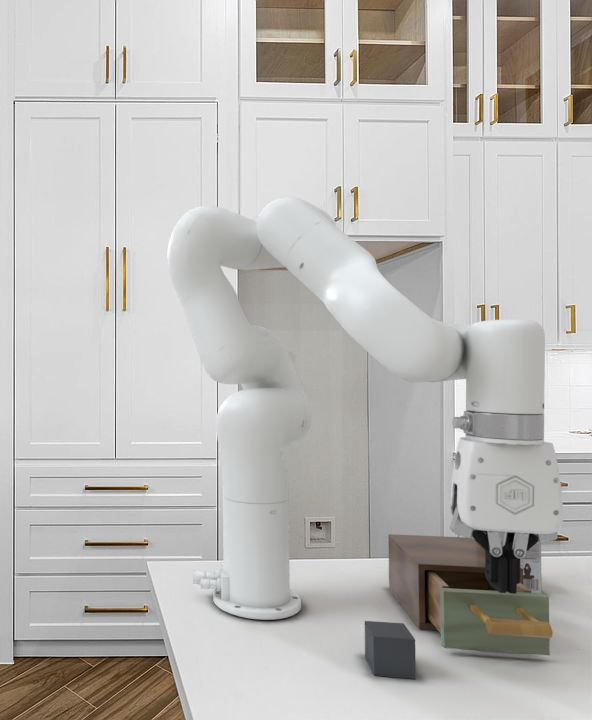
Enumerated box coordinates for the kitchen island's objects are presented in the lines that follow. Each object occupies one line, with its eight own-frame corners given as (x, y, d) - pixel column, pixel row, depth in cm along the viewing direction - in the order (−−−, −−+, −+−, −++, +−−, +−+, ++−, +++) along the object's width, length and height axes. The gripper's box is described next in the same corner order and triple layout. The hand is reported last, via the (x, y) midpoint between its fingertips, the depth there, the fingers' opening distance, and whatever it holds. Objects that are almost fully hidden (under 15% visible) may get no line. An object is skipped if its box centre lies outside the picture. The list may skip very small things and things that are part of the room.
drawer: (582, 683, 64) (580, 619, 64) (465, 674, 66) (464, 611, 66) (497, 610, 83) (496, 560, 83) (409, 604, 85) (409, 556, 85)
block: (374, 676, 67) (373, 636, 67) (364, 657, 72) (364, 620, 72) (416, 679, 67) (415, 639, 67) (404, 660, 71) (403, 623, 71)
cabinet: (524, 636, 77) (523, 568, 77) (419, 629, 79) (418, 563, 80) (477, 594, 91) (476, 537, 92) (389, 589, 94) (388, 534, 94)
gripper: (444, 429, 66) (443, 596, 66) (597, 434, 63) (596, 607, 63) (422, 423, 74) (420, 572, 73) (558, 426, 71) (557, 582, 71)
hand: (502, 588), depth 68 cm, fingers closed
